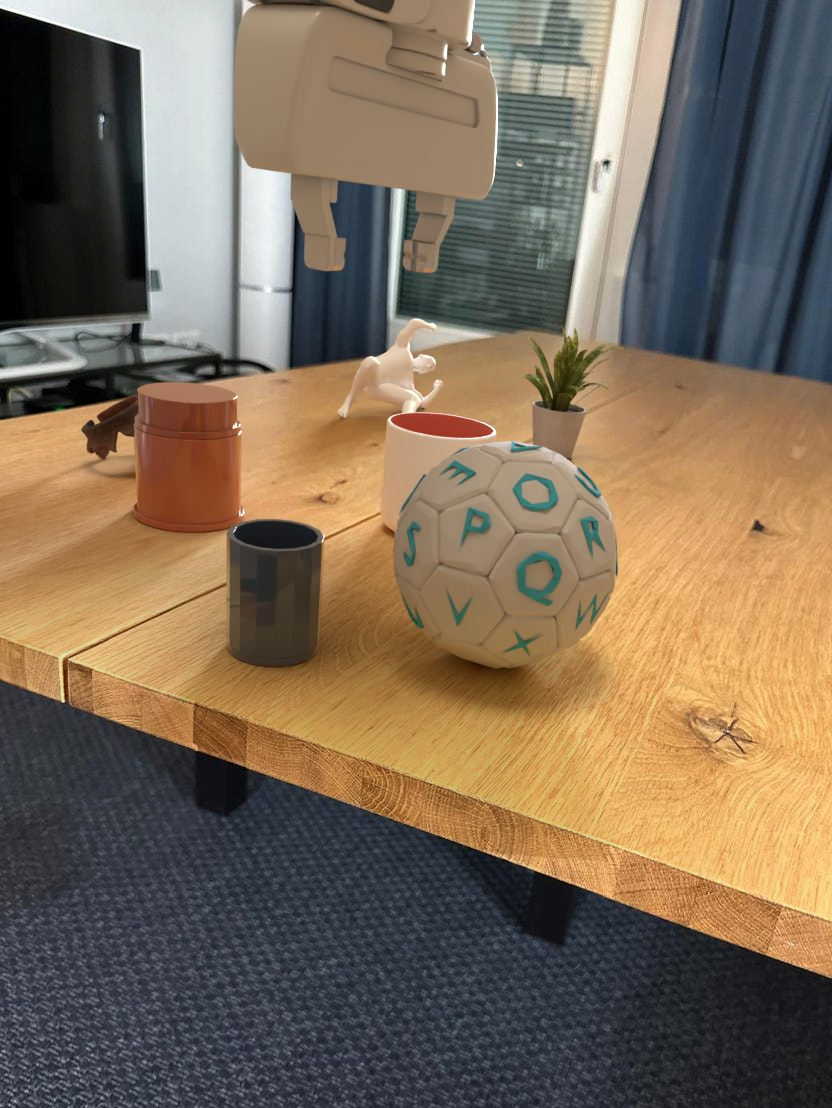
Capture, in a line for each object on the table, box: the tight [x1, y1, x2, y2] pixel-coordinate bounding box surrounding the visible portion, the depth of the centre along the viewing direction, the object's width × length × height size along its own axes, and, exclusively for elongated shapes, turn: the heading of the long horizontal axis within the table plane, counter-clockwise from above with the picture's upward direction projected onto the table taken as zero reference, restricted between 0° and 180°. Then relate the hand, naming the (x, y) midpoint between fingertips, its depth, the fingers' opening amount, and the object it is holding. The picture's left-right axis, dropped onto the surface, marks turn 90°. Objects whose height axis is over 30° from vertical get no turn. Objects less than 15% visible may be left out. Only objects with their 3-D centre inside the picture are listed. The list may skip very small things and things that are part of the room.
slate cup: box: [225, 518, 325, 668], centre depth 61 cm, size 6×6×8 cm
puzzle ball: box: [392, 440, 619, 670], centre depth 62 cm, size 15×15×15 cm
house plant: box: [521, 324, 631, 459], centre depth 118 cm, size 14×14×16 cm
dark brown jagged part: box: [80, 394, 138, 461], centre depth 95 cm, size 12×10×8 cm
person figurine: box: [337, 317, 444, 419], centre depth 132 cm, size 13×13×18 cm
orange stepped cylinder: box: [132, 381, 245, 533], centre depth 82 cm, size 10×10×11 cm
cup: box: [379, 411, 497, 533], centre depth 86 cm, size 10×10×10 cm
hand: (375, 270), depth 56 cm, fingers open, 8 cm apart
